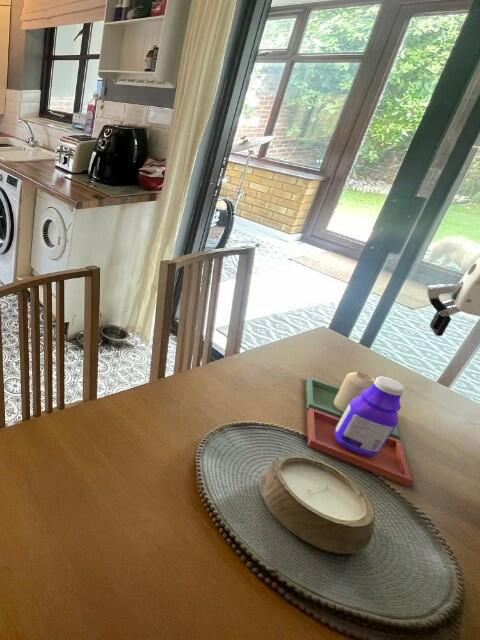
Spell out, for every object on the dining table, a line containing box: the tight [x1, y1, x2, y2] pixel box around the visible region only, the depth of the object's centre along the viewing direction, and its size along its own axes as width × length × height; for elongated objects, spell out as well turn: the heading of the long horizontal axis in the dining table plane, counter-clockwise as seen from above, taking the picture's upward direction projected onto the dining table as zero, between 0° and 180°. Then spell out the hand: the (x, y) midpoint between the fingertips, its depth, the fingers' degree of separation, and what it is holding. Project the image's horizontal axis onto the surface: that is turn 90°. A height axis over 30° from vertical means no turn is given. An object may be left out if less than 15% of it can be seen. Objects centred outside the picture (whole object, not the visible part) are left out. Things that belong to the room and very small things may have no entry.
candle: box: [333, 371, 376, 413], centre depth 95 cm, size 6×6×10 cm
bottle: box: [335, 375, 405, 456], centre depth 84 cm, size 7×6×17 cm
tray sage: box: [305, 376, 400, 440], centre depth 97 cm, size 16×12×2 cm
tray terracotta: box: [306, 408, 413, 487], centre depth 87 cm, size 16×12×2 cm
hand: (474, 341), depth 74 cm, fingers open, 9 cm apart
